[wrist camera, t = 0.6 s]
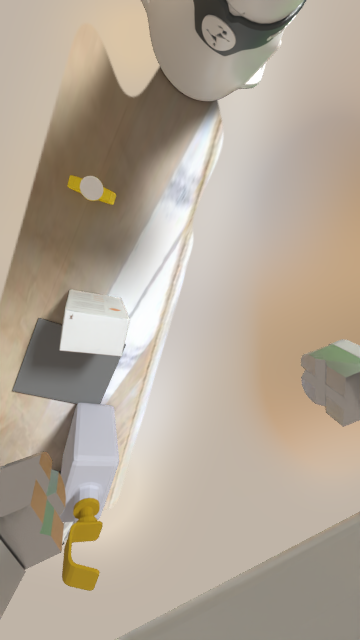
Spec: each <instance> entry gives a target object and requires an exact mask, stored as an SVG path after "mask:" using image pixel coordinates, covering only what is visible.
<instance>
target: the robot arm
mask: <svg viewBox="0 0 360 640" xmlns="http://www.w3.org/2000/svg"><path fill="white" fill-rule="evenodd" d="M141 1H142V3H143V5H144V8H145V10H146V12H147V16H148V22H149V29H150V37H151V41H152V46H153V50H154V53H155V56H156V58H157V61H158V63H159V65H160V67H161V69H162V71H163V72H164V74H165V75H166V77H167V78H168V79H169V81H170V82H171V83H172V84H173V85H174V86H175V87H176V88H177V89H178V90H179V91H181V92H182V93H183V94H185V95H187V96H188V97H191V98H193V99H196V100H200V101H214V100H218V99H221V98H223V97H225V96H227V95H229V94H230V93H232V92H233V91H235V90H237V89H247V88H253V87H255V86H256V85H257V84H258V83H259V82H260V81H261V79H262V76H263V72H264V69H265V65H266V62H267V61H268V60H269V59H270V58H271V57H272V56H273V54H274V53H275V52H276V51H277V50H278V49H279V47H280V45H281V37H282V34H283V31H284V29H285V28H286V27H287V26H288V25H289V24H290V22H291V21H292V20H293V19H294V17H295V16H296V15H297V13H298V12H299V11H300V9H301V8H302V6H303V5H304V3H305V2H306V0H141ZM301 366H302V367H303V368H304V369H305V371H304V373H303V375H302V377H301V378H302V386H303V389H304V391H305V393H306V395H307V396H308V397H309V398H310V399H311V400H312V401H313V402H314V403H315V404H318V405H322V406H325V410H326V413H327V414H328V415H330V416H331V417H332V418H333V419H334V420H336V421H337V422H338V423H339V424H341V425H342V426H343V427H344V426H346V425H349V424H351V423H354V422H356V421H359V420H360V346H359V345H357V344H355V343H352V342H351V341H348V340H343V339H342V340H339V341H337V342H334V343H332V344H329V345H328V346H325V347H322V348H320V349H317V350H315V351H312V352H309V353H307V354H304V355H303V356H302V358H301ZM51 468H52V459H51V457H50V456H49V454H48V452H44V451H43V452H40V453H38V454H35V455H32V456H29V457H26V458H23V459H20V460H18V461H15V462H12V463H9V464H6V465H5V466H1V467H0V619H1V616H2V615H3V613H4V611H5V609H6V608H7V606H8V604H9V602H10V600H11V598H12V596H13V594H14V592H15V590H16V589H17V587H18V585H19V583H20V581H21V579H22V577H23V576H24V574H25V569H27V568H29V567H31V566H33V565H36V564H38V563H40V562H42V561H44V560H46V559H48V558H50V557H52V556H54V555H57V554H59V553H61V550H62V539H63V528H64V524H63V522H62V521H61V519H60V516H61V514H62V512H63V511H64V509H65V504H66V494H65V486H64V483H63V479H62V477H61V475H60V473H59V472H58V471H55V470H53V469H51ZM115 640H360V512H358V513H356V514H355V515H353V516H351V517H349V518H347V519H345V520H343V521H341V522H339V523H337V524H335V525H333V526H332V527H330V528H328V529H326V530H324V531H322V532H320V533H318V534H316V535H314V536H312V537H310V538H309V539H306V540H305V541H303V542H301V543H299V544H297V545H295V546H293V547H291V548H289V549H288V550H285V551H284V552H282V553H280V554H278V555H276V556H274V557H272V558H270V559H268V560H266V561H265V562H263V563H261V564H259V565H257V566H255V567H253V568H251V569H249V570H247V571H245V572H243V573H242V574H240V575H238V576H236V577H234V578H232V579H230V580H228V581H226V582H224V583H222V584H221V585H219V586H217V587H215V588H213V589H211V590H209V591H207V592H205V593H203V594H201V595H200V596H198V597H196V598H194V599H192V600H190V601H188V602H186V603H184V604H182V605H180V606H178V607H177V608H175V609H173V610H171V611H169V612H167V613H165V614H163V615H161V616H160V617H157V618H156V619H154V620H152V621H150V622H148V623H146V624H145V625H142V626H140V627H138V628H136V629H135V630H133V631H131V632H129V633H127V634H125V635H123V636H121V637H119V638H117V639H115Z"/></svg>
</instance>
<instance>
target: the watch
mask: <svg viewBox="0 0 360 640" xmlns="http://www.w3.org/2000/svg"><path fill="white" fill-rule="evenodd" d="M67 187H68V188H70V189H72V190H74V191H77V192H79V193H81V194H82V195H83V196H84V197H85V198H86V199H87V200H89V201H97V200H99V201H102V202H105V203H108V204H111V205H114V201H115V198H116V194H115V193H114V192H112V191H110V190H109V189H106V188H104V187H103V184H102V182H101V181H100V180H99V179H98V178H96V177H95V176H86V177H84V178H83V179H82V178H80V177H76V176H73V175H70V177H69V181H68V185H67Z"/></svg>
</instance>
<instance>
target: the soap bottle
mask: <svg viewBox="0 0 360 640" xmlns="http://www.w3.org/2000/svg"><path fill="white" fill-rule="evenodd" d="M118 463H119V454H118V444H117V434H116V424H115V414H114V407H113V406H111V405H101V404H91V403H78V404H77V406H76V408H75V412H74V416H73V419H72V423H71V427H70V431H69V434H68V438H67V442H66V445H65V449H64V453H63V459H62V467H61V477H62V479H63V483H64V486H65V494H66V504H65V509H64V511H63V512H62V514H61V516H60V519H61V521H62V522H76V521H77V522H76V523H74V524H73V525H72V526H71V529H70V532H69V535H68V539H67V542H66V545H65V549H64V561H63V573H62V578H63V581H64V583H65V584H66V585H68V586H71V587H76V588H80V589H84V590H89V591H90V590H93V589H94V587H95V584H96V582H97V579H98V576H99V571H98V570H97V569H94V568H90V567H86V566H82V565H79V564H76V563H74V562H73V560H72V558H71V546H72V545H71V544H72V543H73V542H84V541H94V540H96V539H97V538H98V537H99V534H100V532H101V529H102V522H100V521H97V520H98V519H99V518H100V516H101V513H102V510H103V507H104V504H105V502H106V499H107V496H108V493H109V490H110V487H111V484H112V481H113V478H114V475H115V473H116V470H117V467H118Z"/></svg>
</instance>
